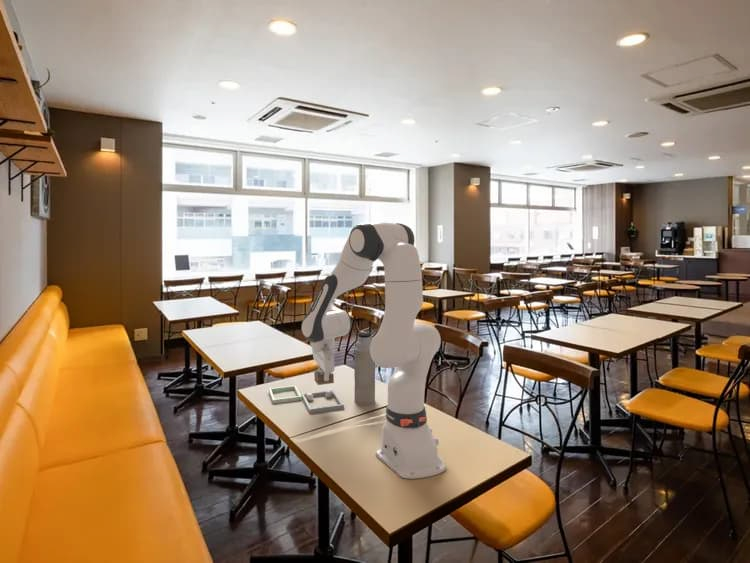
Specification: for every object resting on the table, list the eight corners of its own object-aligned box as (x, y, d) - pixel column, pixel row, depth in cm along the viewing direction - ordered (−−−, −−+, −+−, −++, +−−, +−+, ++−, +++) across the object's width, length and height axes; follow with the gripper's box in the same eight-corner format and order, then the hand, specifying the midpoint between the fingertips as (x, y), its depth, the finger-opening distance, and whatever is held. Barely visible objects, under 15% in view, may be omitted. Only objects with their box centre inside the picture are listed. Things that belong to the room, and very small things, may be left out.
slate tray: (344, 411, 166) (344, 404, 165) (309, 416, 161) (309, 409, 161) (333, 395, 180) (333, 390, 180) (301, 400, 176) (301, 394, 176)
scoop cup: (333, 383, 166) (333, 373, 166) (318, 385, 164) (317, 375, 164) (329, 378, 171) (329, 369, 171) (314, 380, 169) (314, 371, 169)
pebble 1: (314, 401, 173) (314, 394, 172) (306, 402, 172) (306, 395, 171) (312, 399, 176) (312, 391, 175) (305, 400, 175) (305, 392, 174)
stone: (329, 380, 167) (329, 369, 167) (322, 382, 165) (321, 370, 165) (325, 378, 170) (325, 367, 169) (318, 380, 168) (317, 368, 168)
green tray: (301, 402, 174) (301, 396, 173) (272, 406, 170) (272, 400, 170) (295, 391, 186) (295, 385, 185) (269, 394, 182) (268, 388, 182)
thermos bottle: (375, 400, 176) (375, 331, 173) (374, 408, 168) (374, 336, 165) (355, 399, 177) (355, 331, 173) (353, 407, 169) (353, 336, 165)
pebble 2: (333, 399, 176) (333, 391, 175) (326, 400, 175) (326, 392, 174) (331, 396, 178) (331, 389, 178) (324, 397, 177) (324, 390, 177)
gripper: (338, 347, 158) (339, 384, 159) (324, 335, 177) (325, 369, 178) (320, 348, 155) (321, 387, 157) (309, 337, 175) (310, 371, 176)
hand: (323, 377), depth 168 cm, fingers closed on scoop cup, 6 cm apart
